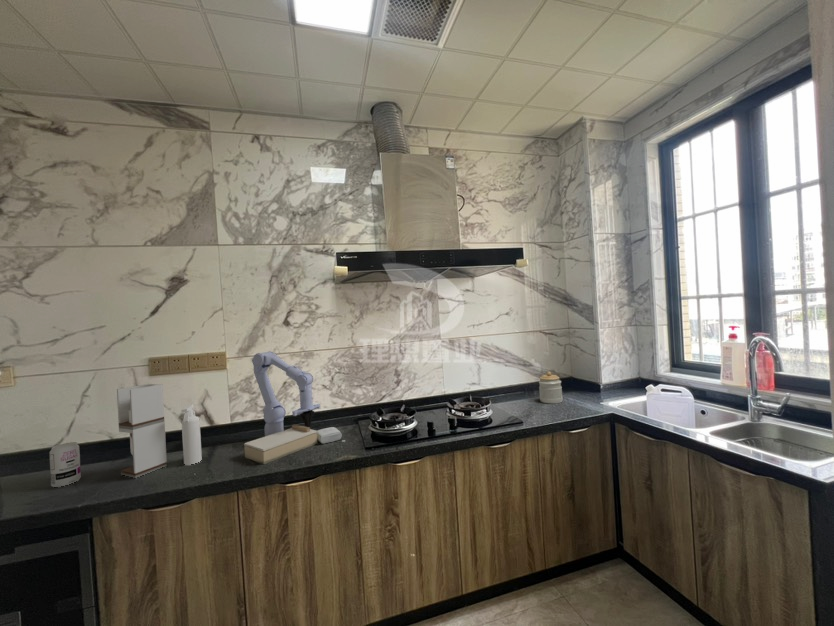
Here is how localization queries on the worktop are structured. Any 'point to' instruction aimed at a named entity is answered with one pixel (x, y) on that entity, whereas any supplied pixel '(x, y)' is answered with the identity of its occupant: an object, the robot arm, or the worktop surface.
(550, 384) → the jar
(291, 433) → the sliding box lid
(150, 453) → the white wood-trimmed shelf
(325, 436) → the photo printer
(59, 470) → the supplement can
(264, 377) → the robot arm
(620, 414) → the worktop surface
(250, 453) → the box
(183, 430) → the fire extinguisher
